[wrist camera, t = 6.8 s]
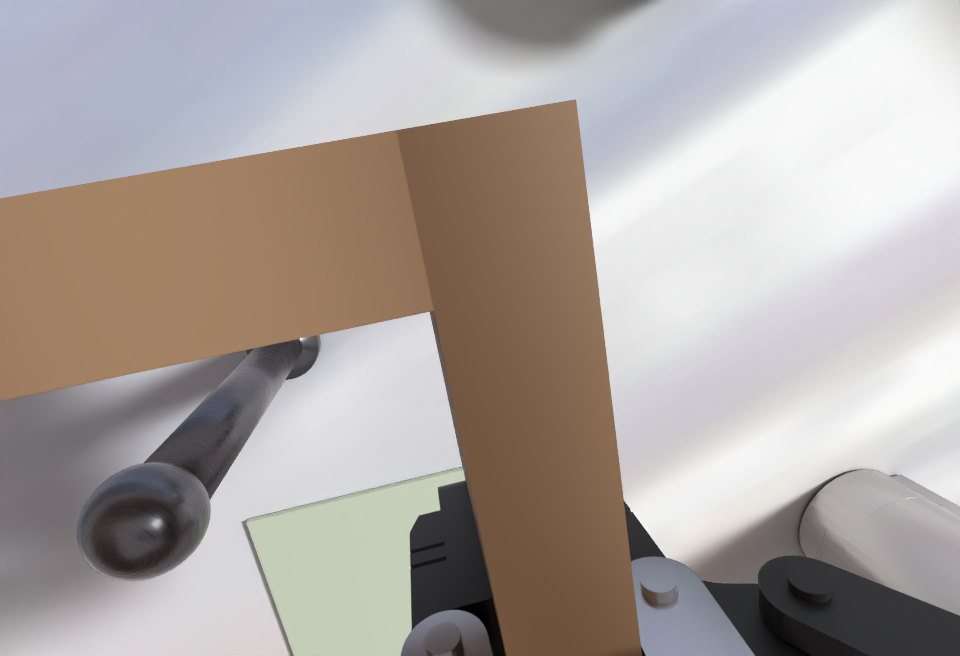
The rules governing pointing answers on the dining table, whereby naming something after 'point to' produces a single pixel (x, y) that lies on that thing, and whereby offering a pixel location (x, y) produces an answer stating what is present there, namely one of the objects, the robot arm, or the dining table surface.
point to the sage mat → (346, 567)
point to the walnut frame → (372, 319)
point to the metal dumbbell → (184, 472)
